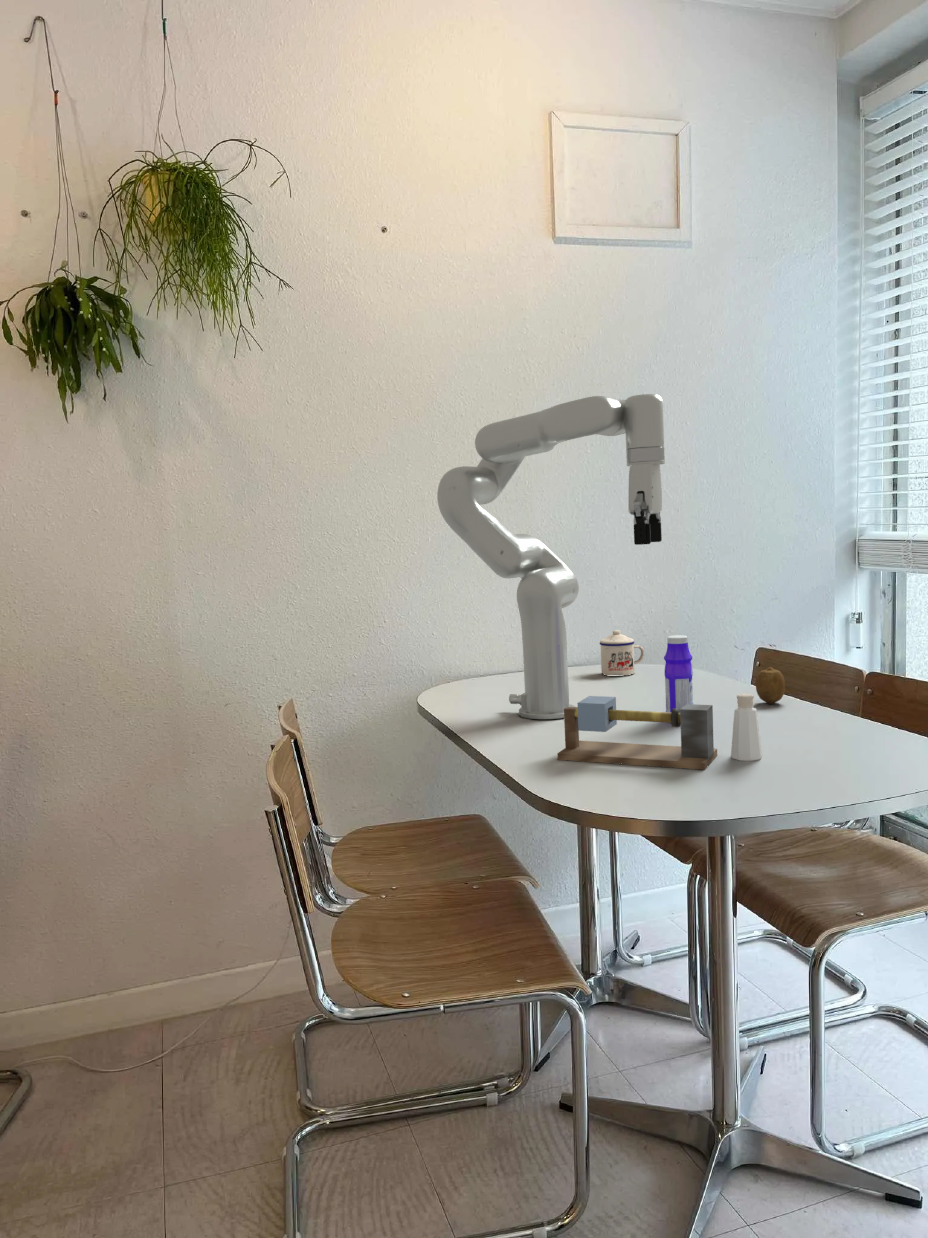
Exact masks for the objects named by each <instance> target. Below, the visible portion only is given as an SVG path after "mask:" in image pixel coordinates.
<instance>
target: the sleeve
mask: <svg viewBox="0 0 928 1238" xmlns="http://www.w3.org/2000/svg"><path fill="white" fill-rule="evenodd" d="M577 707H578V728H579V731H581V732H597V733H607V732H608V731H609V730H611V729H612V728H613V727H615V726H616V725H617V724H618V722H617V721H618V720H608V710H617V697H616V696H601V695H599V696H598V695H596V696H595V695H588V696H587V697H585V698H583V699H582V700H580V701H578V702H577Z"/></svg>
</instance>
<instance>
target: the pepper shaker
mask: <svg viewBox="0 0 928 1238" xmlns="http://www.w3.org/2000/svg"><path fill="white" fill-rule="evenodd" d="M736 699H737V702H736V704H737V707H736V708H735V709H734V711H733V712H734V714H733V725H732V737H731V750H730V758H731V759H733V760H736V761H743V762H754V761H760V760H761V759H762V757H763V749H762V741H761V734H760V726H759V719H758V712H757V708H756V707H754V695H753V694H752V693H749V692H748V693H746V692H745V693H744V692H743V693H739V694H737V695H736Z"/></svg>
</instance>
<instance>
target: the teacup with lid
mask: <svg viewBox="0 0 928 1238" xmlns="http://www.w3.org/2000/svg"><path fill="white" fill-rule="evenodd" d="M599 645H600V665H601V666H600V669H601V674H602V673H603V674H605V675H629V674H632V673H634V674H635V665H637V664H640V663H641V662H642V661H643V660H644V656H645V649H644V647H642V646H641V645H638V644H637V645H636V644H635V640H634V639H633V638H631V637H628V636H627V635H625V634H622V633H621V630H619V629H618V630H617V629H615V630H613V631H612V633H611V634H609V635H608V636H607V637H605V638H602V639H600V641H599ZM634 649H639V650H640V656H639V658H638V659H637V660H635V652H634V651H635V650H634Z"/></svg>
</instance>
